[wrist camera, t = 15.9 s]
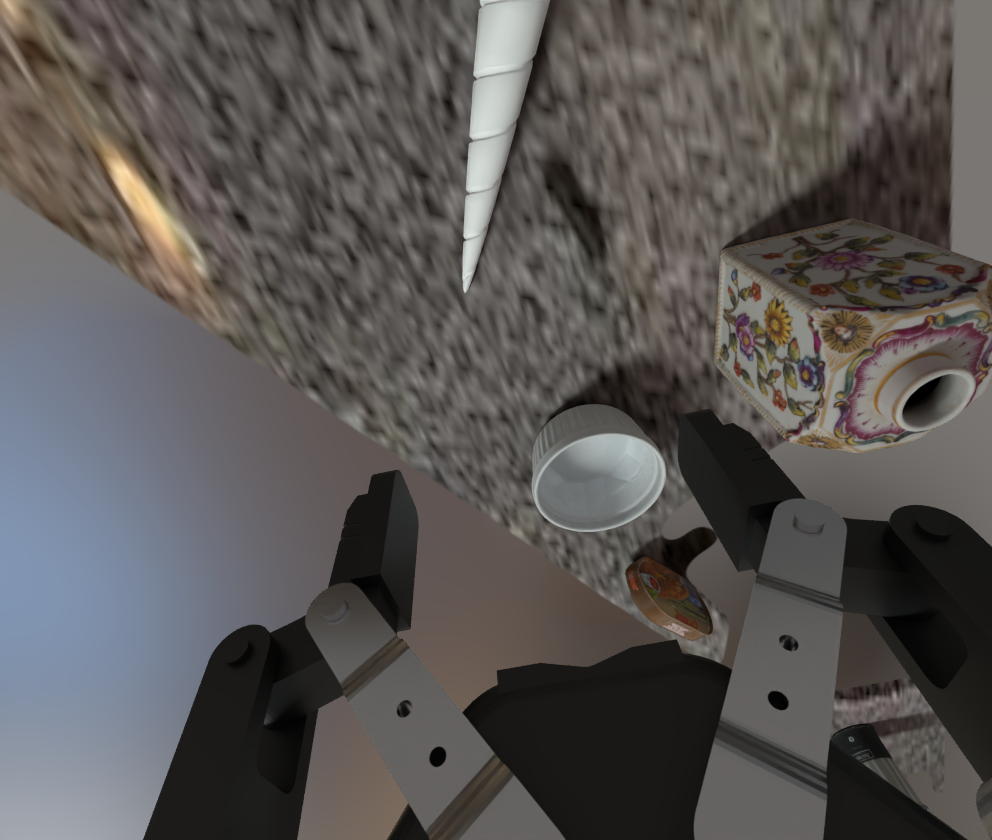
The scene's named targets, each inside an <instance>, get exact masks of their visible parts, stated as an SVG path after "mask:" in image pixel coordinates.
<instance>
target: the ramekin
mask: <svg viewBox="0 0 992 840" xmlns="http://www.w3.org/2000/svg"><path fill="white" fill-rule="evenodd" d="M532 461H533V478H532V492H533V497H534V500H535V503H536V506H537V508H538V510H539V511H540V513H541V514H542V515H543V516H544V517H545V518H546V519H547V520H549V521H550V522H551V523H553V524H555V525H557V526H559V527H562V528H565V529H568V530H573V531H581V532H594V531H602V530H607V529H611V528H615V527H618V526H621V525H623V524H625V523H628V522H630V521H631V520H633V519H635V518H637V517H638V516H640V515H641V514H642V513H644V512H645V511H646V510H647V509H648V508H649V507H650V506H651V505H652V504H653V503H654V502H655V501H656V500H657V498H658V497H659V495H660V493H661V492H662V489H663V487H664V484H665V480H666V466H665V462H664V459H663V457H662V455H661V453H660V451H659V449H658V447H657V446H656V444H655V443H654V442H653V441H652V440H651V439H650V438H649V437H647V436H646V435H645V434H644V432H643V431H642V430H641V428H640V427H639V426H638V425H637V424H636V423H635V422H634V420H633V419H632V418H631V417H630V416H628V415H627V414H626V413H624V412H623V411H621V410H619V409H617V408H614V407H612V406H607V405H601V404H588V405H581V406H576V407H574V408H570V409H568V410H566V411H563V412H562V413H560V414H558V415H557V416H555V417H554V418H553V419H551V420H550V421H549V422H548V423H547V424H546V425H545V426H544V428H543V429H542V430H541V432H540V433H539V435H538V437H537V439H536V441H535V445H534V448H533V458H532Z"/></svg>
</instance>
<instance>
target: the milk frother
mask: <svg viewBox="0 0 992 840" xmlns="http://www.w3.org/2000/svg"><path fill="white" fill-rule="evenodd" d="M831 741H833V742H834V743H835V744H837V745H838V746H839V747H841V748H842V749H844V750H845V751H846V752H848V753H849V754H850V755H852V756H853V757H855V758H856V759H857V760H859V761H860V762H861V763H863V764H864V765H866V766H867V767H868V768H870V769H871V770H872V771H874V772H875V773H877V774H878V775H879V776H881V777H882V778H883V779H885V780H886V781H888V782H889V783H890V784H892V785H893V786H894V787H896V788H897V789H899V790H900V791H901V792H903V793H904V794H905V795H907V796H908V797H910V798H911V799H912V800H914V801H915V802H916V803H918V804H919V805H921V806H922V807H923V808H925V809H926V810H927V811H928V810H929V808H928V807H927V806H925V805H924V804H923V803H922V802H921V801H920V799H919V798H918V796H917V795H916V793H915V792H914V790H913V789H912V787H911V786H910V784H909V783H908V781H907V780H906V778H905V777H904V775H903V774H902V772H901V771H900V769H899V768H898V766H897V765H896V763H895V762H894V760H893V759H892V757H891V756H890V754H889V753H888V751H887V749H886V748H885V746H884V745H883V743H882V742H881V740H880V738H879V737H878V735H877V733H876V732H875V728H874V727H873V726H871V725H857V726H852V727H849V728H846V729H844V730H841V731H840V732H838V733H836V734H835V735H834V736H833V737H832V738H831Z"/></svg>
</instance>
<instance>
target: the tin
mask: <svg viewBox="0 0 992 840" xmlns="http://www.w3.org/2000/svg"><path fill="white" fill-rule="evenodd" d="M625 575H626V579H627V583H628V587H629V590H630V593H631V596H632V599H633V601H634V602H635V604H636V605H637V607H638V608H639V610H640V611H641V612H642V613H643V614H644V615H645V616H646V617H647V618H648V619H649V620H650V621H651V622H653V623H655V624H657V625H659V626H661V627H663V628H665V629H667V630H669V631H671V632H673V633H675V634H677V635H679V636H681V637H683V638H685V639H688V640H691V641H693V640H697V639H699V638H702V637H704V636H706V635H710V634H711V633H712V631H713V624H712V619H711V616H710V613H709V611H708V609H707V607H706V605H705V603H704V601H703V600H702V598H701V597H700V595H699V594H698V592H697V591H696V589H695V588H694V587H693V586H692V585H691V584H690V583H689V582H688V581H687V580H686V579H685V578H684V577H682V576H680V575H679V574H677V573H675V572H673V571H672V570H670V569H668V568H666V567H665V566H663V565H661V564H660V563H658V562H656V561H655V560H653V559H651V558H649V557H645V556H643V557H641V558H639V560H637V561H636V562H634V563H632V564H631V565H629V566H628V568H627V569H626V572H625Z"/></svg>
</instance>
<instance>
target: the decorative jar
mask: <svg viewBox="0 0 992 840" xmlns="http://www.w3.org/2000/svg"><path fill="white" fill-rule="evenodd" d="M714 362H715V364H716V366H717V367H718V368H719V369H720V371H721V372H722V373H723V374H724V375H725V376H726V377H727V378H728V380H729V381H730V382H731V383H732V384H733V385H734V386H735V387H736V388H737V389H738V390H739V391H740V392H741V394H742V395H743V396H744V397H745V398H746V399H747V400H748V401H749V402H750V403H751V404H752V405H753V406H754V407H755V408H756V409H757V411H759V412H760V414H762V415H763V416H764V417H765V418H766V419H767V420H768V421H769V422H770V424H772V425H773V427H774V428H775V429H776V430H777V431H778V432H779V433H780V434H781V435H782V436H783V437H784V438H785V439H786V440H787V441H788V442H791V443H795V444H802V445H807V446H810V447H821V448H827V449H838V450H844V451H849V452H857V453H861V452H866V451H871V450H877V449H881V448H889V447H892V446H896V445H900V444H904V443H907V442H912V441H915V440H917V439H919V438H921V437H922V436H924V435H925V434H927V433H928V432H929V431H931V430H933V429H934V428H935V427H938V426H940V425H942V424H944V423H945V422H947V421H949V420H951V419H952V418H954V417H955V416H956V415H958V414H959V413H960V412H961V411H962V410H963V409H964V408H966V407H967V406H968V405H970V404H971V403H972V402H974V401H975V400H976V399H978V398H979V397H980V396H981V395H982V394H983V393H985V392H986V390H987V388H988V386H989V385H990V383H991V380H992V266H991V265H989V264H987V263H984V262H980V261H977V260H974V259H972V258H969V257H966V256H963V255H960V254H957V253H955V252H952V251H950V250H946V249H943V248H940V247H938V246H936V245H933V244H930V243H927V242H925V241H922V240H920V239H916V238H914V237H911V236H908V235H906V234H902V233H900V232H896V231H892V230H890V229H887V228H884V227H882V226H878V225H875V224H872V223H868V222H865V221H861V220H857V219H855V218H849V219H846V220H842V221H837V222H835V223H829V224H824V225H820V226H816V227H812V228H807V229H803V230H798V231H795V232H791V233H787V234H782V235H778V236H773V237H768V238H764V239H761V240H756V241H752V242H749V243H745V244H741V245H737V246H733V247H729V248H725V249H723V250H722V251H721V255H720V266H719V288H718V304H717V318H716V336H715V353H714Z"/></svg>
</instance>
